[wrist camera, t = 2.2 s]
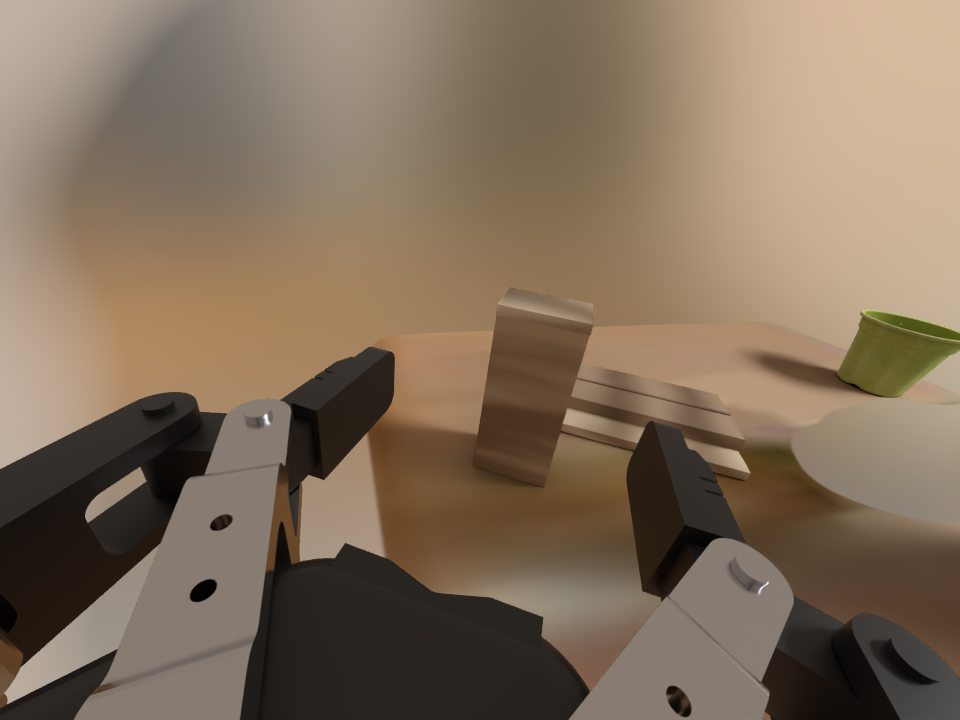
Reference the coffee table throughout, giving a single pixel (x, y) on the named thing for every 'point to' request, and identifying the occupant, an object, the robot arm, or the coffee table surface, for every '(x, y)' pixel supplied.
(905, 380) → the plant pot
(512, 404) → the plank
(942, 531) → the coffee table surface
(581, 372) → the floor board
